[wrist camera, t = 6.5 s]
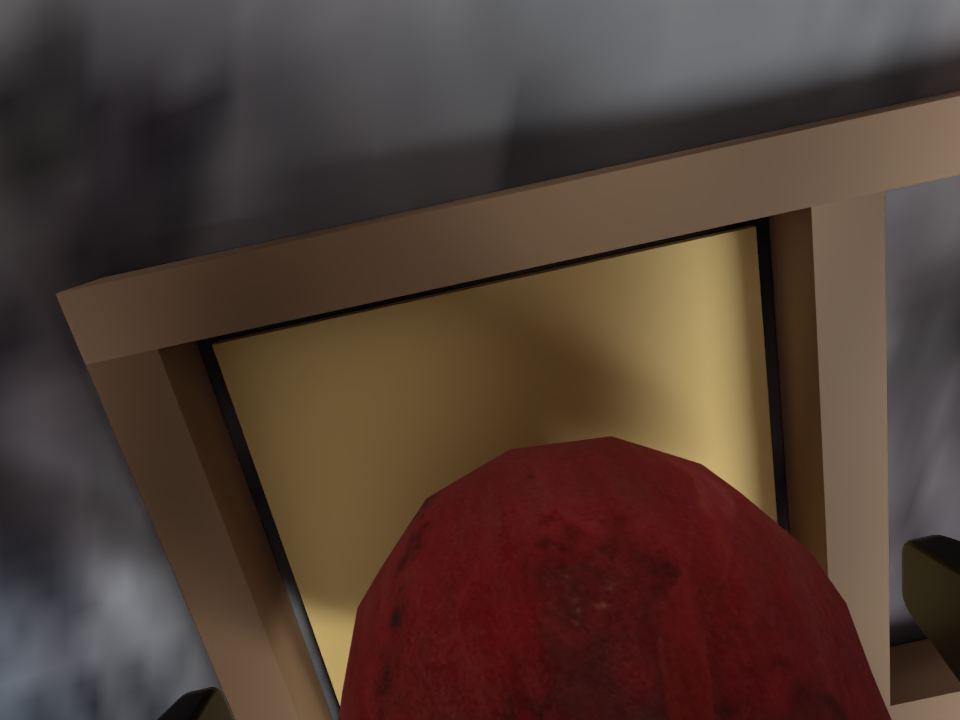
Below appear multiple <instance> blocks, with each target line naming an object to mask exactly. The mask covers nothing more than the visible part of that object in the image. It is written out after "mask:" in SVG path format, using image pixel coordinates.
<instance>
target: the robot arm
mask: <svg viewBox="0 0 960 720" xmlns="http://www.w3.org/2000/svg"><path fill="white" fill-rule="evenodd" d="M902 593H903V599H904V602H905V605H906V607H907V609H908V611H909V612H910V614H911V616H912V617H913V618H914V620H915V621H916V623H917V624H918V625H919V627H920V628H921V630H922V631H923V632H924V634H925V635H926V636H927V638H928V639H929V641H930V642H931V643H932V645H933V646H934V648H935V649H936V650H937V652H938V653H939V655H940V656H941V657H942V659H943V660H944V661H945V663H946V664H947V666H948V667H949V668H950V670H951V671H952V673H953V674H954V675H955V677H956V678H957V680H958V681H959V682H960V541H958V540H955V539H952V538H949V537H946V536H942V535H931V536H926V537H921V538H917V539H912V540H909V541H907V542H906V543H905V544H904V546H903V549H902ZM157 720H234V719H233V716H232V714H231V712H230V709H229V707H228V705H227V702H226V700H225V697H224V695H223V693H222V692H221V691H220V690H219V689H218V688H215V687H210V688H205V689H201V690H196V691H191V692H188V693H186V694H184V695H182V696H181V697H180V698H179V699H178V700H177V701H176V702H175V703H174V704H173V705H172V706H171V707H170V708H169V709H168V710H167V711H166V712H165V713H163V714H162V715H161V716H160V717H159V718H158V719H157Z"/></svg>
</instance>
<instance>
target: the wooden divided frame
mask: <svg viewBox="0 0 960 720" xmlns="http://www.w3.org/2000/svg"><path fill="white" fill-rule="evenodd" d="M956 175H960V90H958V91H953V92H949V93H944V94H940V95H935V96H930V97H926V98H921V99H917V100H912V101H908V102H903V103H898V104H894V105H889V106H885V107H880V108H876V109H871V110H866V111H862V112H857V113H853V114H848V115H844V116H839V117H834V118H830V119H825V120H821V121H816V122H812V123H807V124H802V125H798V126H793V127H789V128H784V129H780V130H775V131H770V132H766V133H761V134H757V135H752V136H748V137H743V138H738V139H734V140H729V141H725V142H720V143H716V144H711V145H706V146H702V147H697V148H693V149H688V150H684V151H679V152H674V153H670V154H665V155H661V156H656V157H652V158H647V159H642V160H638V161H633V162H629V163H624V164H620V165H615V166H610V167H606V168H601V169H597V170H592V171H588V172H583V173H578V174H574V175H569V176H565V177H560V178H556V179H551V180H546V181H542V182H537V183H533V184H528V185H524V186H519V187H514V188H510V189H505V190H501V191H496V192H492V193H487V194H482V195H478V196H473V197H469V198H464V199H460V200H455V201H450V202H446V203H441V204H437V205H432V206H428V207H423V208H418V209H414V210H409V211H405V212H400V213H396V214H391V215H386V216H382V217H377V218H373V219H368V220H364V221H359V222H354V223H350V224H345V225H341V226H336V227H332V228H327V229H322V230H318V231H313V232H309V233H304V234H300V235H295V236H290V237H286V238H281V239H277V240H272V241H268V242H263V243H258V244H254V245H249V246H245V247H240V248H236V249H231V250H226V251H222V252H217V253H213V254H208V255H204V256H199V257H194V258H190V259H185V260H181V261H176V262H172V263H167V264H162V265H158V266H153V267H149V268H144V269H140V270H135V271H130V272H126V273H121V274H117V275H112V276H108V277H103V278H100V279H97V280H94V281H91V282H88V283H85V284H82V285H79V286H76V287H73V288H71V289H68V290H65V291H62V292H59V293H56V296H57V299H58V301H59V303H60V306H61V308H62V310H63V313H64V315H65V318H66V320H67V322H68V325H69V327H70V329H71V332H72V334H73V336H74V339H75V341H76V344H77V346H78V348H79V351H80V353H81V355H82V358H83V360H84V363H85V365H86V367H87V370H88V372H89V374H90V377H91V379H92V381H93V384H94V386H95V389H96V391H97V393H98V396H99V398H100V400H101V403H102V405H103V407H104V410H105V412H106V415H107V417H108V419H109V422H110V424H111V426H112V429H113V431H114V433H115V436H116V438H117V441H118V443H119V445H120V448H121V450H122V452H123V455H124V457H125V459H126V462H127V464H128V467H129V469H130V471H131V474H132V476H133V478H134V481H135V483H136V485H137V488H138V490H139V493H140V495H141V497H142V500H143V502H144V504H145V507H146V509H147V511H148V514H149V516H150V519H151V521H152V523H153V526H154V528H155V530H156V533H157V535H158V537H159V540H160V542H161V545H162V547H163V549H164V552H165V554H166V556H167V559H168V561H169V564H170V566H171V568H172V571H173V573H174V575H175V578H176V580H177V582H178V585H179V587H180V590H181V592H182V594H183V597H184V599H185V601H186V604H187V606H188V608H189V611H190V613H191V616H192V618H193V620H194V623H195V625H196V627H197V630H198V632H199V634H200V637H201V639H202V642H203V644H204V646H205V649H206V651H207V653H208V656H209V658H210V660H211V663H212V665H213V668H214V670H215V672H216V675H217V677H218V679H219V682H220V684H221V686H222V689H223V691H224V694H225V696H226V698H227V701H228V703H229V705H230V708H231V710H232V712H233V715H234V717H235V720H333V719H332V716H331V713H330V710H329V707H328V705H327V702H326V699H325V696H324V694H323V691H322V688H321V685H320V683H319V680H318V677H317V674H316V672H315V669H314V666H313V663H312V660H311V658H310V655H309V652H308V649H307V647H306V644H305V641H304V638H303V636H302V633H301V630H300V627H299V625H298V622H297V619H296V616H295V613H294V611H293V608H292V605H291V602H290V600H289V597H288V594H287V591H286V589H285V586H284V583H283V580H282V577H281V575H280V572H279V569H278V566H277V564H276V561H275V558H274V555H273V553H272V550H271V547H270V544H269V542H268V539H267V536H266V533H265V530H264V528H263V525H262V522H261V519H260V517H259V514H258V511H257V508H256V506H255V503H254V500H253V497H252V495H251V492H250V489H249V486H248V483H247V481H246V478H245V475H244V472H243V470H242V467H241V464H240V461H239V459H238V456H237V453H236V450H235V448H234V445H233V442H232V439H231V436H230V434H229V431H228V428H227V425H226V423H225V420H224V417H223V414H222V412H221V409H220V406H219V403H218V400H217V398H216V395H215V392H214V389H213V387H212V384H211V381H210V378H209V376H208V373H207V370H206V367H205V365H204V362H203V359H202V356H201V353H200V351H199V348H198V345H197V342H196V341H197V340H202V339H206V338H211V337H216V336H220V335H225V334H229V333H234V332H239V331H243V330H248V329H252V328H257V327H262V326H266V325H271V324H275V323H280V322H285V321H289V320H294V319H298V318H303V317H308V316H312V315H317V314H321V313H326V312H331V311H335V310H340V309H344V308H349V307H354V306H358V305H363V304H367V303H372V302H377V301H381V300H386V299H390V298H395V297H400V296H404V295H409V294H413V293H418V292H423V291H427V290H432V289H436V288H441V287H445V286H450V285H455V284H459V283H464V282H468V281H473V280H478V279H482V278H487V277H491V276H496V275H501V274H505V273H510V272H514V271H519V270H524V269H528V268H533V267H537V266H542V265H547V264H551V263H556V262H560V261H565V260H570V259H574V258H579V257H583V256H588V255H593V254H597V253H602V252H606V251H611V250H616V249H620V248H625V247H629V246H634V245H639V244H643V243H648V242H652V241H657V240H662V239H666V238H671V237H675V236H680V235H685V234H689V233H694V232H698V231H703V230H708V229H712V228H717V227H721V226H726V225H731V224H735V223H740V222H744V221H749V220H753V219H758V218H763V217H767V216H769V230H770V245H771V260H772V275H773V290H774V305H775V320H776V335H777V350H778V365H779V381H780V396H781V411H782V426H783V441H784V456H785V471H786V486H787V501H788V516H789V531H790V535H792V536H793V537H794V538H795V539H796V540H797V541H799V542H800V543H801V544H802V545H803V546H805V547H806V548H807V549H808V550H809V551H810V552H811V553H812V555H813V556H814V558H815V559H816V560H817V562H818V563H819V565H820V566H821V568H822V569H823V570H824V572H825V573H826V575H827V576H828V578H829V579H830V581H831V582H832V583H833V585H834V586H835V588H836V589H837V591H838V592H839V593H840V595H841V596H842V598H843V599H844V601H845V602H846V603H847V606H848V609H849V611H850V614H851V617H852V620H853V622H854V625H855V628H856V630H857V633H858V636H859V639H860V641H861V644H862V647H863V649H864V652H865V655H866V658H867V660H868V663H869V666H870V668H871V671H872V674H873V676H874V679H875V681H876V684H877V686H878V688H879V691H880V693H881V696H882V698H883V700H884V703H885V705H886V707H887V710H888V712H889V715H890V717H891V719H892V720H960V682H959V681H958V680H957V678H956V677H955V675H954V674H953V673H952V671H951V670H950V668H949V667H948V666H947V664H946V663H945V661H944V660H943V659H942V657H941V656H940V655H939V653H938V652H937V650H936V649H935V648H934V646H933V645H932V643H931V642H930V641H929V639H925V640H921V641H916V642H911V643H907V644H902V645H897V646H892V647H890V636H889V542H888V448H887V354H886V260H885V191H887V190H891V189H896V188H901V187H905V186H910V185H914V184H919V183H924V182H928V181H933V180H937V179H942V178H947V177H951V176H956ZM212 346H213V349H214V352H215V355H216V358H217V360H218V363H219V366H220V369H221V372H222V375H223V377H224V380H225V383H226V386H227V389H228V391H229V394H230V397H231V400H232V403H233V406H234V408H235V411H236V414H237V417H238V420H239V423H240V425H241V428H242V431H243V434H244V437H245V439H246V442H247V445H248V448H249V451H250V454H251V456H252V459H253V462H254V465H255V468H256V471H257V473H258V476H259V479H260V482H261V485H262V487H263V490H264V493H265V496H266V499H267V502H268V504H269V507H270V510H271V513H272V516H273V519H274V521H275V524H276V527H277V530H278V533H279V535H280V538H281V541H282V544H283V547H284V550H285V552H286V555H287V558H288V561H289V564H290V567H291V569H292V572H293V575H294V578H295V581H296V583H297V586H298V589H299V592H300V595H301V598H302V600H303V603H304V606H305V609H306V612H307V615H308V617H309V620H310V623H311V626H312V629H313V631H314V634H315V637H316V640H317V643H318V646H319V648H320V651H321V654H322V657H323V660H324V663H325V665H326V668H327V671H328V674H329V677H330V679H331V682H332V685H333V688H334V691H335V694H336V696H337V699H338V702H339V705H341V697H342V690H343V684H344V679H345V673H346V668H347V662H348V657H349V651H350V646H351V640H352V635H353V629H354V624H355V618H356V613H357V608H358V606H359V604H360V603H361V601H362V599H363V597H364V596H365V594H366V592H367V591H368V589H369V587H370V585H371V584H372V582H373V580H374V579H375V577H376V575H377V573H378V572H379V570H380V568H381V567H382V565H383V564H384V562H385V561H386V559H387V558H388V556H389V554H390V553H391V551H392V550H393V548H394V547H395V545H396V544H397V542H398V541H399V539H400V538H401V536H402V535H403V533H404V532H405V530H406V528H407V527H408V525H409V524H410V522H411V521H412V519H413V518H414V516H415V515H416V513H417V512H418V510H419V509H420V507H421V506H422V504H423V502H424V501H425V499H426V498H428V497H430V496H431V495H433V494H435V493H436V492H438V491H440V490H441V489H443V488H445V487H447V486H448V485H450V484H452V483H453V482H455V481H457V480H458V479H460V478H462V477H463V476H465V475H467V474H469V473H470V472H472V471H474V470H475V469H477V468H479V467H480V466H482V465H484V464H486V463H487V462H489V461H491V460H492V459H494V458H496V457H497V456H499V455H501V454H503V453H504V452H506V451H508V450H509V449H515V448H523V447H531V446H539V445H546V444H554V443H562V442H570V441H577V440H585V439H593V438H601V437H608V436H613V437H616V438H619V439H623V440H626V441H629V442H632V443H635V444H639V445H642V446H645V447H648V448H652V449H655V450H658V451H661V452H665V453H668V454H671V455H674V456H678V457H681V458H684V459H687V460H690V461H694V462H697V463H700V464H702V465H704V466H705V467H706V468H708V469H709V470H710V471H712V472H713V473H715V474H716V475H717V476H719V477H720V478H721V479H723V480H724V481H726V482H727V483H728V484H730V485H731V486H732V487H734V488H735V489H736V490H738V491H739V492H741V493H742V494H743V495H744V496H745V497H746V498H748V499H749V500H750V501H751V502H752V503H754V504H755V505H756V506H757V507H758V508H760V509H761V510H762V511H763V512H764V513H765V514H767V515H768V516H769V517H770V518H771V519H773V520H774V521H775V522H776V523H777V510H776V496H775V483H774V469H773V455H772V442H771V428H770V414H769V400H768V387H767V373H766V359H765V345H764V332H763V318H762V304H761V290H760V277H759V263H758V249H757V235H756V227H755V226H750V225H749V226H745V227H740V228H735V229H731V230H726V231H722V232H717V233H712V234H708V235H703V236H699V237H694V238H689V239H685V240H680V241H676V242H671V243H666V244H662V245H657V246H653V247H648V248H643V249H639V250H634V251H630V252H625V253H620V254H616V255H611V256H607V257H602V258H597V259H593V260H588V261H584V262H579V263H574V264H570V265H565V266H561V267H556V268H551V269H547V270H542V271H538V272H533V273H528V274H524V275H519V276H515V277H510V278H505V279H501V280H496V281H492V282H487V283H483V284H478V285H473V286H469V287H464V288H460V289H455V290H450V291H446V292H441V293H437V294H432V295H427V296H423V297H418V298H414V299H409V300H404V301H400V302H395V303H391V304H386V305H381V306H377V307H372V308H368V309H363V310H358V311H354V312H349V313H345V314H340V315H335V316H331V317H326V318H322V319H317V320H312V321H308V322H303V323H299V324H294V325H289V326H285V327H280V328H276V329H271V330H266V331H262V332H257V333H253V334H248V335H243V336H239V337H234V338H230V339H225V340H220V341H216V342H215V343H214V344H213V345H212Z"/></svg>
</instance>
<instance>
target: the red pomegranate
mask: <svg viewBox="0 0 960 720" xmlns="http://www.w3.org/2000/svg"><path fill="white" fill-rule="evenodd" d="M339 720H892V719H891V717H890V715H889V712H888V710H887V707H886V705H885V703H884V700H883V698H882V696H881V693H880V691H879V688H878V686H877V684H876V681H875V679H874V676H873V674H872V671H871V668H870V666H869V663H868V660H867V658H866V655H865V652H864V649H863V647H862V644H861V641H860V639H859V636H858V633H857V630H856V628H855V625H854V622H853V620H852V617H851V614H850V611H849V609H848V606H847V603H846V602H845V601H844V599H843V598H842V596H841V595H840V593H839V592H838V591H837V589H836V588H835V586H834V585H833V583H832V582H831V581H830V579H829V578H828V576H827V575H826V573H825V572H824V570H823V569H822V568H821V566H820V565H819V563H818V562H817V560H816V559H815V558H814V556H813V555H812V553H811V552H810V551H809V550H808V549H807V548H806V547H805V546H803V545H802V544H801V543H800V542H799V541H797V540H796V539H795V538H794V537H793V536H792V535H790V534H789V533H788V532H787V531H786V530H784V529H783V528H782V527H781V526H780V525H778V524H777V523H776V522H775V521H774V520H773V519H771V518H770V517H769V516H768V515H767V514H765V513H764V512H763V511H762V510H761V509H760V508H758V507H757V506H756V505H755V504H754V503H752V502H751V501H750V500H749V499H748V498H746V497H745V496H744V495H743V494H742V493H741V492H739V491H738V490H736V489H735V488H734V487H732V486H731V485H730V484H728V483H727V482H726V481H724V480H723V479H721V478H720V477H719V476H717V475H716V474H715V473H713V472H712V471H710V470H709V469H708V468H706V467H705V466H704V465H702V464H700V463H697V462H694V461H690V460H687V459H684V458H681V457H678V456H674V455H671V454H668V453H665V452H661V451H658V450H655V449H652V448H648V447H645V446H642V445H639V444H635V443H632V442H629V441H626V440H623V439H619V438H616V437H613V436H608V437H601V438H593V439H585V440H577V441H570V442H562V443H554V444H546V445H539V446H531V447H523V448H515V449H509V450H508V451H506V452H504V453H503V454H501V455H499V456H497V457H496V458H494V459H492V460H491V461H489V462H487V463H486V464H484V465H482V466H480V467H479V468H477V469H475V470H474V471H472V472H470V473H469V474H467V475H465V476H463V477H462V478H460V479H458V480H457V481H455V482H453V483H452V484H450V485H448V486H447V487H445V488H443V489H441V490H440V491H438V492H436V493H435V494H433V495H431V496H430V497H428V498H426V499H425V501H424V502H423V504H422V506H421V507H420V509H419V510H418V512H417V513H416V515H415V516H414V518H413V519H412V521H411V522H410V524H409V525H408V527H407V528H406V530H405V532H404V533H403V535H402V536H401V538H400V539H399V541H398V542H397V544H396V545H395V547H394V548H393V550H392V551H391V553H390V554H389V556H388V558H387V559H386V561H385V562H384V564H383V565H382V567H381V568H380V570H379V572H378V573H377V575H376V577H375V579H374V580H373V582H372V584H371V585H370V587H369V589H368V591H367V592H366V594H365V596H364V597H363V599H362V601H361V603H360V604H359V606H358V608H357V613H356V618H355V624H354V629H353V635H352V640H351V646H350V651H349V657H348V662H347V668H346V673H345V679H344V684H343V690H342V697H341V705H340V712H339Z"/></svg>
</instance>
